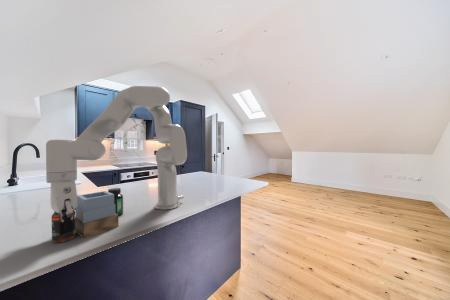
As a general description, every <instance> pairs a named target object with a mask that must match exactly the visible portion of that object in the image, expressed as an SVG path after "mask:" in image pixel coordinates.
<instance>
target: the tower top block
mask: <svg viewBox="0 0 450 300" xmlns="http://www.w3.org/2000/svg"><path fill="white" fill-rule="evenodd" d="M77 205H78V208H77V210H75V217H77V218H78V219H79V220H80V221H81V222H82V223H87V222H91V221H94V220H98V219H102V218H106V217H109V216H113V215H115V204H114V194H112V193H109V192H108V190H101V191H95V192H91V193H83V194H77Z"/></svg>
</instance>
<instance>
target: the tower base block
mask: <svg viewBox="0 0 450 300" xmlns="http://www.w3.org/2000/svg"><path fill="white" fill-rule="evenodd" d="M75 222H76V234H78V235H79V236H81V237H82V238H84V239H86V238H89V237H91V236H94V235H96V234H100V233H104V232H105V231H109V230H111V229H112V230H113V229H115V228H118V227H119V217H118V214H116V213H115V215H113V216H109V217H106V218H102V219H98V220H94V221H91V222H87V223H82V222H81V221H80V220H79V219H78V218H77V217H76V216H75Z"/></svg>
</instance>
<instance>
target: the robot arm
mask: <svg viewBox="0 0 450 300" xmlns="http://www.w3.org/2000/svg"><path fill="white" fill-rule="evenodd" d="M170 100H171V95H170V92H169V91H168V90H167V89H166V88H165V87H163V86H158V85H157V86H153V85H152V86H150V85H147V86H146V85H133V86H129V87H127V88H125V89H122V90H120V91H119V92H118V93H117V94H116V95H115V96H114V98H113V99H112V100H111V101H110V103H109V104H108V105H107V107H105V109H104V110H103V111H102V112H101V114H100V115H98V116H97V117H96V118H95V119H94V120H93V121H92V123H90V124H89V125H87V127H86V128H85V129H84V130H83V131H82V132H81V133H80V135H79V136H78V137H77V138H76V139H75V140H72V139H50V140H47V141H46V142H45V163H46V164H45V167H46V168H45V170H46V171H45V172H46V173H45V177H46V179H45V181H46V183H47V184H50V208H51V210H52V211H53V214H54V213H55V212H57V213H59V214H60V220H61V222H59V234H60V235H63V234H67V233H70V232H72V231H73V215H72V213H73V210H74V211H76V210H77V208H78V205H77V195H78V193H77V185H76V181H77V180H78V164H77V163H78V161H90V162H91V161H97V160H99V159H101V158H103V157H104V155H105V154H106V147H105V145H104V143H102V142H103V141H104V140H105V139H106V138H107V137H109V136H110V135H111V134H113V133H115V132H117V131H119V130H120V129H121V128H122V127H124V125H125V124H126V123H127V121H128V120H129V118H130V117H131V115H132V114H133V113H134V111H135V110H137V109H138V108H143V107H144V108H145V109H146V110H148V111H149V112H150V114H151V115H152V117H153V121H154V122H153V123H154V130H155V137H156V140H157V142H158V143H160V144H163V145H164V144H165V146H162V147H159V148H158V149H157V151H156V153H155V160H156V162H155V163H156V165H157V166H156V167H157V202H156V203H155V204H154V208H155V209H156V210H164V211H166V210H172V209H175V208H178V207H179V206H181V202H180V200H183V199H184V197H185V196H184V194H183V195H182V194H181V195H177V194H178V192H177V191H178V189H177V186H178V184H177V183H178V181H177V176H178V175H177V167H176V166H180V165H183V164H185V162H186V161H187V158H188V148H187V138H186V133H185V130H184V129H183V126H181V125H179V124H176V123H175V124H174V123H173V121H172V117H171V112H170V110H169V109H168V108H167V106H166V105H168V104H169V102H170ZM166 144H169V145H168V146H167V145H166ZM62 210H66V211H65V212H62ZM63 214H66V215H64V218H63Z"/></svg>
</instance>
